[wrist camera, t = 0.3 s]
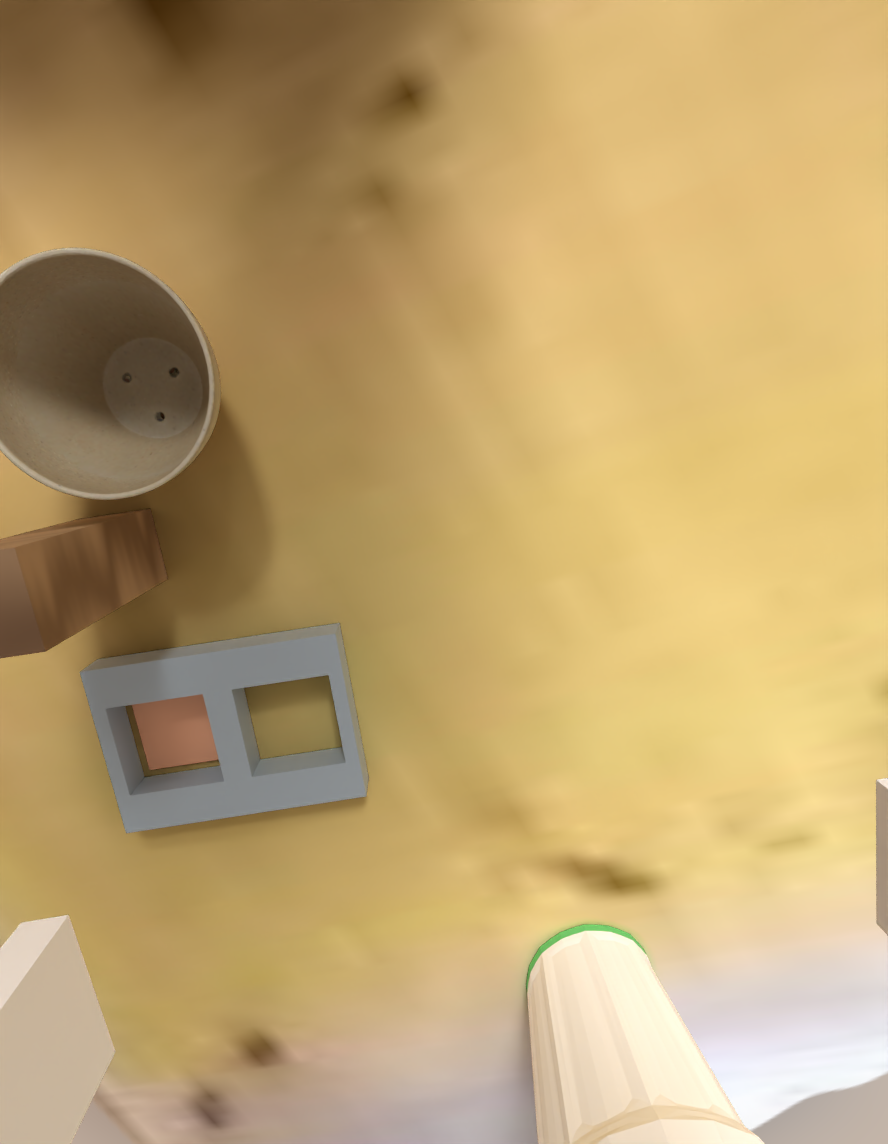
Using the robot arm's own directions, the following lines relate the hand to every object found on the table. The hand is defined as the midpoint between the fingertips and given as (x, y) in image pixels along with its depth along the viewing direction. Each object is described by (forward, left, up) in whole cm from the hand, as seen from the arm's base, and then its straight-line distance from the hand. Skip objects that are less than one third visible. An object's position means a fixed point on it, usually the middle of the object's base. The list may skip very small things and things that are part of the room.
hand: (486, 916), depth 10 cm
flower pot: (-12, -13, -26) cm, 32 cm away
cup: (+29, +6, -26) cm, 40 cm away
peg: (-4, -17, -26) cm, 32 cm away
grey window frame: (+7, -13, -26) cm, 30 cm away
